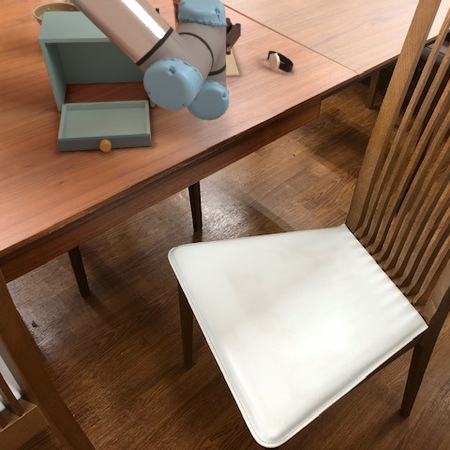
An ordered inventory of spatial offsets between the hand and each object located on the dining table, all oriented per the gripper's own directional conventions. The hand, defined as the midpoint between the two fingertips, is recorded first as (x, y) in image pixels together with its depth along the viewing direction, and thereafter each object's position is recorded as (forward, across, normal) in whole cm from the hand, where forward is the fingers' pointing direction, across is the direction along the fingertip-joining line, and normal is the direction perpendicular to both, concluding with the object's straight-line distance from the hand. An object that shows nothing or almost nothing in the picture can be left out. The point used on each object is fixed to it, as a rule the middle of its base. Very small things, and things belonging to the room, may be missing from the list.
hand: (189, 14), depth 112 cm
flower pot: (0, -27, -8) cm, 28 cm away
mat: (-3, 0, -8) cm, 8 cm away
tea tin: (-3, 0, -7) cm, 8 cm away
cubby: (-19, -18, -8) cm, 27 cm away
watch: (-10, +19, -8) cm, 23 cm away
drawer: (-30, -18, -8) cm, 36 cm away
